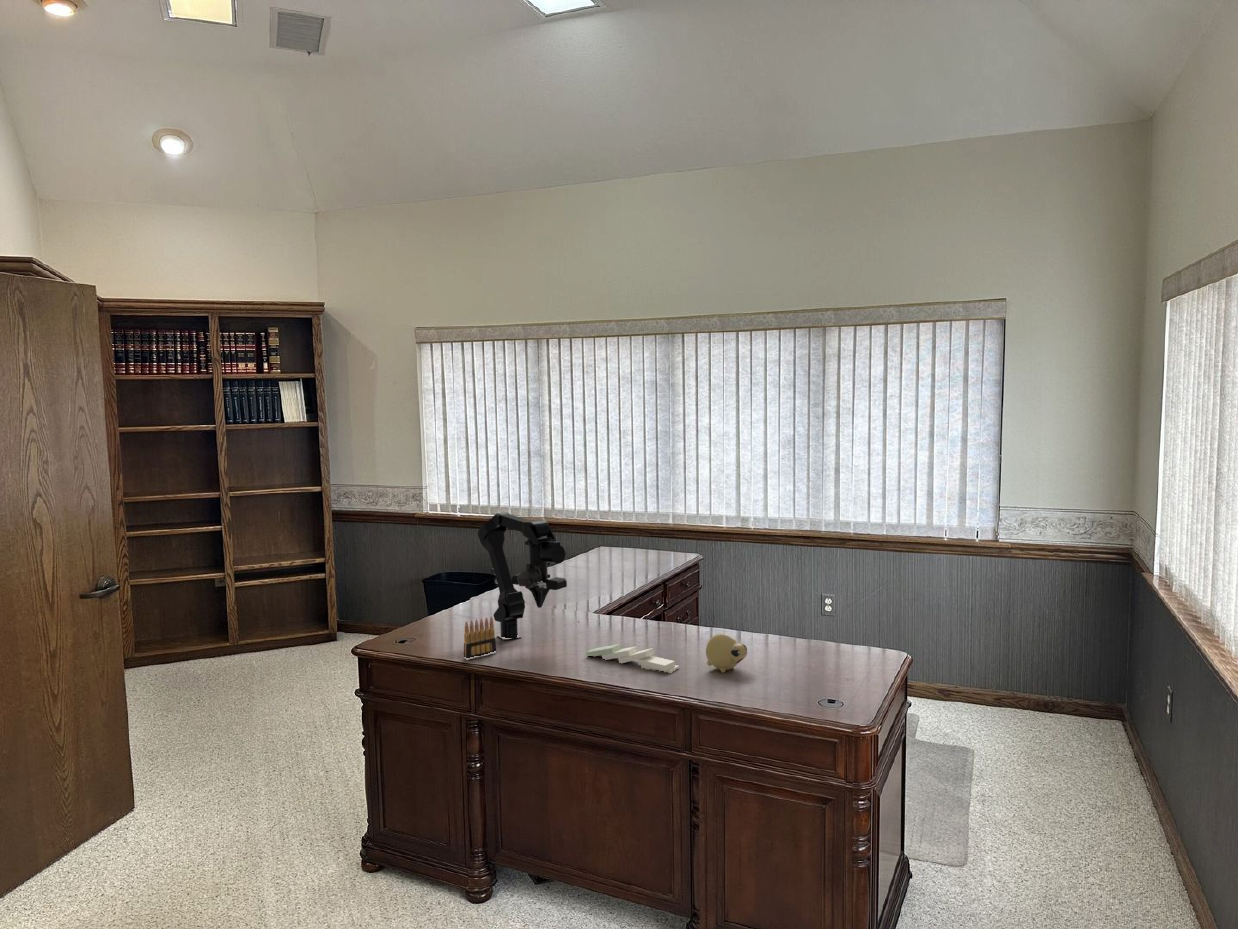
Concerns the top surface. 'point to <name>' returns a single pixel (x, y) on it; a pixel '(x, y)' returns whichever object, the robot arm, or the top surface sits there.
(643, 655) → the domino
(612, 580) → the top surface
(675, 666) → the domino
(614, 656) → the domino
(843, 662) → the top surface
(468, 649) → the ammunition clip
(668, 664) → the domino
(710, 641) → the beige round figure
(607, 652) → the domino
